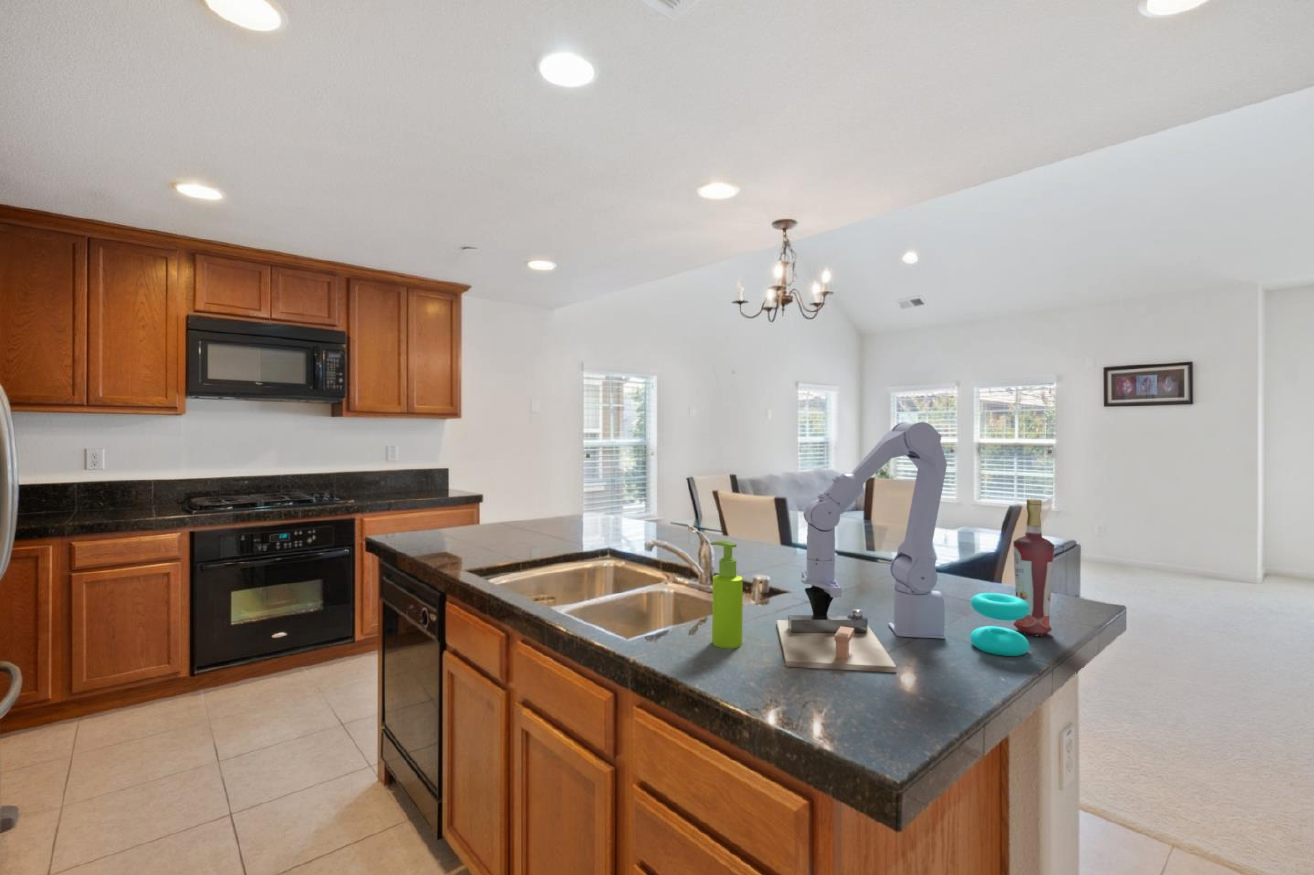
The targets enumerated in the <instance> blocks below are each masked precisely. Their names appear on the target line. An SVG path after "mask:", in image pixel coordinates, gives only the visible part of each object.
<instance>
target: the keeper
mask: <svg viewBox="0 0 1314 875" xmlns="http://www.w3.org/2000/svg"><path fill="white" fill-rule="evenodd" d="M853 635H854V628H849V627H842V626H841V627H840V628H839V629H838V631H837V632H836V634H835V635H834V641H836V658H841V659H846V660H847V659H848V657H849V642H850V640H851V638H852V636H853Z"/></svg>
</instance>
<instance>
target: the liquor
mask: <svg viewBox="0 0 1314 875" xmlns="http://www.w3.org/2000/svg"><path fill="white" fill-rule="evenodd" d="M1042 502H1043V501H1042V499H1037V498H1036V499H1035V498H1034V499H1033V498H1028V499H1027V498H1026V510H1027V511H1026V512H1027V519H1026V528H1025V534H1024V536H1020V537H1018V538H1017V539H1015V540H1013V541H1012V542H1013V567H1014V569H1013V570H1014V571H1013V572H1014V584H1015V585H1014V588H1015V591H1014V592H1015V597H1018V598H1021V599H1023V600H1024V601H1025V602H1026V603H1027V604H1028V605H1029V608H1030V611H1029V613H1028V615H1027V616H1026V617H1024V618H1022V619H1019V620H1014V622H1013V626H1014V627H1015V628H1016V630H1018V632H1019V633H1021V632H1022V633H1021V634H1023V633H1025V634H1024V635H1026V634H1028V635H1027V636H1031V635H1038V636H1037V637H1042V636H1041V635H1044V636H1046V635H1047V634H1048V633H1050V632H1052V630H1053V629H1052V627H1051V626H1050V615H1051V614H1050V611H1051V610H1050V609H1051V593H1052V582H1053V581H1052V580H1053V571H1054V554H1055V552H1054V551H1055V544H1054V543H1052V542H1051V541H1050V540H1048V539H1046V538H1045V537H1043V532H1042V521H1041V512H1042Z"/></svg>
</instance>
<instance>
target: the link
mask: <svg viewBox="0 0 1314 875" xmlns="http://www.w3.org/2000/svg"><path fill="white" fill-rule="evenodd" d="M863 611H864V610H862V609H858V608H853V609H852V614H850V615H841V614H840V615H839V614H838V615H831V614H830V615H828V614H827V615H813V614H812V615H811V614H809V615H808V614H807V615H805V614H804V615H803V614H802V615H800V614H799V615H796V614H795V615H793V614H789V615H787V620H788V628H789V629H790V631H791V632H837V631H838V629H839V628H840V627H841V626H842V627H849V628H854V632H855V633H865V632H867V631H868V626H869V622H868V621H869V620H868V619H869V618H868V617H867V616H865V615H863Z"/></svg>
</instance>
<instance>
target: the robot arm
mask: <svg viewBox="0 0 1314 875" xmlns="http://www.w3.org/2000/svg"><path fill="white" fill-rule="evenodd" d="M941 440H942V435H941V434H940V433H939V432H938V431H937V430H936V428H935V427H934V426H933V425H932V424H930V423H929V422H924V421H918V422H899V423H897V424H896V425H894V426H893V428H891V430H890V431H887V432H886V433H885V434H884V435H883V436H882V437H881V439H880V440H879V441H878V442H877V444H876V445H874V447H873V448H872V449H871V450H870V452H868V454H867V455H866V456H865V457H864V458H863V460H861V462H859V464H858V465H857V466H856V467H854V469H853V471H852V472H851V473H841V474H840V475H835V476H834V477H833V478H832V482H833V483H831V484H830V486H828V487H827V488H826V489H825V490H824V491H823V492H822V493H819V494H818V495H816V498H817V499H816V500H812V501H811V502H810V503H808V504H807V505H806V507H805V510H804V512H803V519H804V520H805V522H806V523H807V532H806V533H807V535H806V571H804V570H801V578H800V580H801V581H800V582H801V583H802V584H804V585H810V587H806V588H804V592H805V593H806V594H805V595H806V596H807V598H808V600H809V603H810V606H811V610H812V615H828V611H829V609H830V606H831V604H832V601H833V600H834V599H835V598H842V587H841V586H840V585H839V584H838V581H837V580H836V578H835V574H836V572H835V571H836V570H835V569H836V568H835V567H836V566H835V564H836V554H835V553H836V537H835V534H836V529H835V528H836V526H839V525H838V524H839V523H840V521H841V515H843V514H844V512H846V511H847V509H848V508H850V507H851V506H852V505H853V504H854V503H855V501H857V499H858V498H859V497H860V496H862V495H863V494H864V484H866V482H867V481H868V480H870V478H871V477H873V475H875V474H876V473H877V472H878V471H879V470H880V469H882V467H883V466H885V465H886V464H887V463H888V462H889V461H890V460H891V459H894V458H898V457H904V456H906V457H908V458H909V460H910V461H911V462H912V463H913V465H914V466H915V468H916V469H917V471H916V477H915V482H914V483H915V484H914V488H913V494H912V498H911V504H910V510H909V514H908V521H907V526H906V532H905V536H904V540H903V542H902V543H901V544H900V545H899V546H898V548H897V552H896V555H895V556H894V558H893V559H892V560H891V561H890V566H889V567H890V568H889V569H890V570H889V572H890V574H891V576H892V577H893V579H894V580H895V584H894V593H893V594H894V600H893V602H894V604H893V608H894V609H893V611H894V612H893V613H894V614H893V622H888V624H887V625H888V626H889V627H890V629H891V630H892V631H893V632H894V633H895V635H896V637H901V638H927V639H946V635H945V623H946V622H945V621H946V620H945V619H946V618H945V612H946V611H945V610H946V607H945V599H944V596H943V594H942V592H941V591H939V590H933V589H934V587H935V586H936V585H937V582H938V573H937V570H936V564H937V558H936V556H935V553H934V550H933V548H932V546H933V543H934V542H933V541H934V536H935V531H936V524H937V521H938V520H937V519H938V513H939V509H940V503H941V500H942V499H941V498H942V494H943V488H944V484H945V483H944V482H945V477H946V473H947V465H948V463H947V459H946V456H945V453H944V450H943V446H942V442H941Z"/></svg>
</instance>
